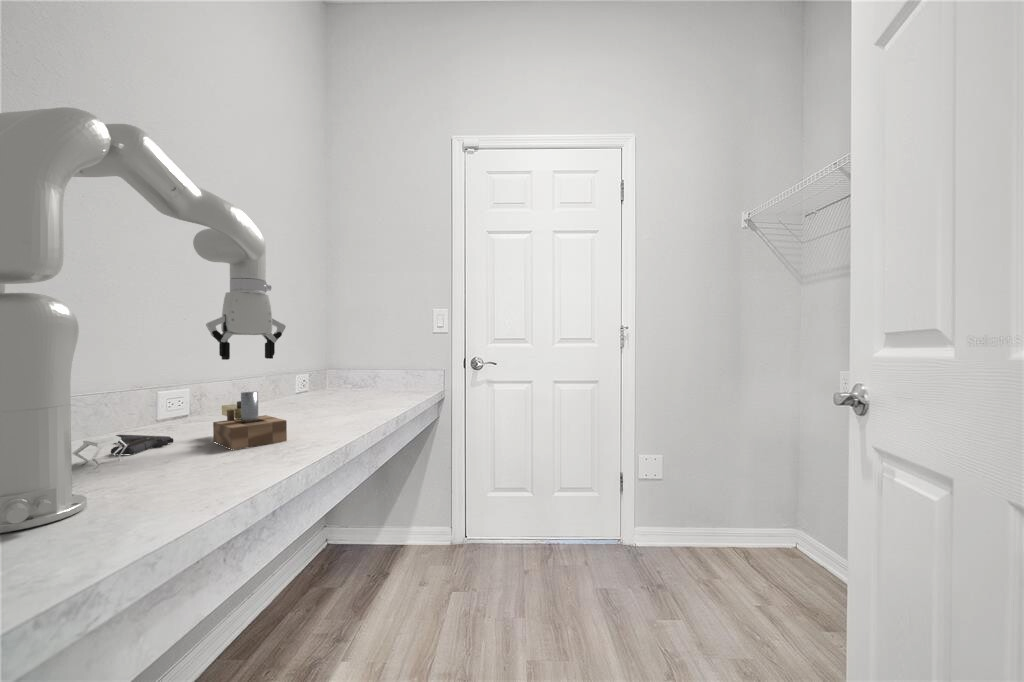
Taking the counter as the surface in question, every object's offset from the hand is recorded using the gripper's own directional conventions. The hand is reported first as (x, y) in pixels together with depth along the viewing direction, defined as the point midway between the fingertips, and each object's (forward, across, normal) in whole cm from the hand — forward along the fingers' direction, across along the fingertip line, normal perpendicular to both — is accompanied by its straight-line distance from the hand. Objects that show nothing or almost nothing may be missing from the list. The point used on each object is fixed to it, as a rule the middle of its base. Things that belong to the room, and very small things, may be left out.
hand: (247, 358), depth 111 cm
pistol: (+21, +20, -18) cm, 34 cm away
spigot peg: (+20, -1, 0) cm, 20 cm away
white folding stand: (+21, +26, -4) cm, 34 cm away
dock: (+20, -1, 0) cm, 20 cm away
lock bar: (+15, -1, -10) cm, 18 cm away
